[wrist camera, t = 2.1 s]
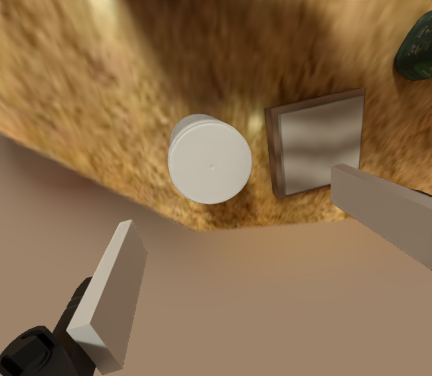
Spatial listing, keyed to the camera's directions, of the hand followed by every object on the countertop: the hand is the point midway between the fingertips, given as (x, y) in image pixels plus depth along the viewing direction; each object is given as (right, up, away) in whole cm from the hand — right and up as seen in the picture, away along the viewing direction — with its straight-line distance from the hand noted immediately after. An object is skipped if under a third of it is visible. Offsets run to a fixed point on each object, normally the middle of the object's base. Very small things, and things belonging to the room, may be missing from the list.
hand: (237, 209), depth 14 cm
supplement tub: (-4, +9, +23) cm, 25 cm away
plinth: (+16, +10, +26) cm, 32 cm away
